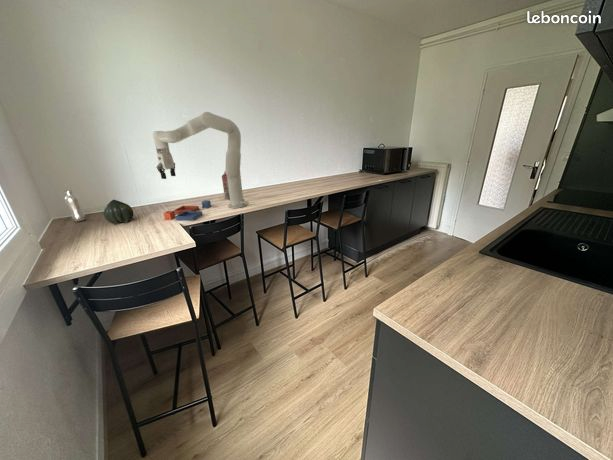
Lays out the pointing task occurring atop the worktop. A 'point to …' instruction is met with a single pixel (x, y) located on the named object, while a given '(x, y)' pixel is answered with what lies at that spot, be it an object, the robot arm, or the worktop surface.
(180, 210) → the terracotta tray
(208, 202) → the blue block
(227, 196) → the juice carton
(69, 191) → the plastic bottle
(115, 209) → the squash
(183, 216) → the blue tray
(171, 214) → the terracotta block
